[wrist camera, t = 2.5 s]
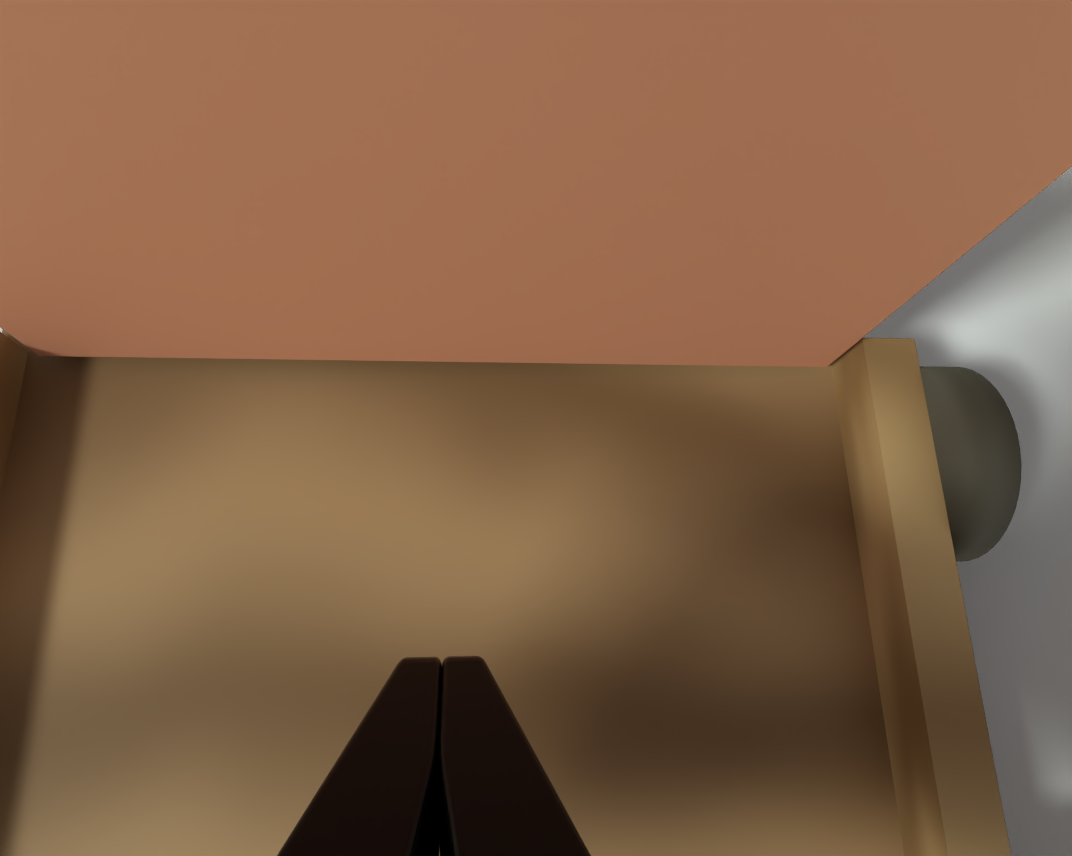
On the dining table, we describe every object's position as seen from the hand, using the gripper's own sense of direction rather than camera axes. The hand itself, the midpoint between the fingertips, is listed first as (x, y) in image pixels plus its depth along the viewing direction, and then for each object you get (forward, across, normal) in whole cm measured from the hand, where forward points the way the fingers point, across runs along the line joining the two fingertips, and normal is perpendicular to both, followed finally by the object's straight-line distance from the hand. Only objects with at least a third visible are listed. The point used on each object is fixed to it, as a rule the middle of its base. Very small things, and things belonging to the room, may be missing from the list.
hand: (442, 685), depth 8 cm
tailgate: (+11, 0, 0) cm, 11 cm away
